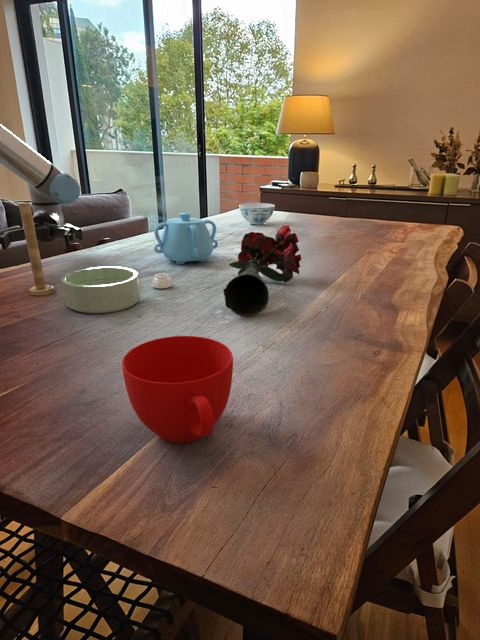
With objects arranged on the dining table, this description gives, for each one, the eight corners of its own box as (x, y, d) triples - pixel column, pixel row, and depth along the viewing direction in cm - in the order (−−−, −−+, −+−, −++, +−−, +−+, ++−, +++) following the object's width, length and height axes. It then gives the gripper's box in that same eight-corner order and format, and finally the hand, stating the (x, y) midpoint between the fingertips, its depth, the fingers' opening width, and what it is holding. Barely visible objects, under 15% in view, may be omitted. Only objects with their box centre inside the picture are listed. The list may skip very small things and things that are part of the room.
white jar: (150, 284, 113) (154, 290, 109) (149, 273, 112) (153, 278, 108) (169, 282, 115) (175, 288, 111) (169, 271, 114) (174, 276, 110)
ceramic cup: (151, 495, 47) (141, 413, 43) (122, 413, 61) (113, 345, 57) (264, 462, 52) (265, 386, 48) (213, 393, 66) (211, 329, 62)
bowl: (55, 300, 102) (50, 274, 99) (120, 287, 111) (117, 263, 109) (84, 320, 91) (79, 291, 89) (153, 303, 101) (150, 277, 98)
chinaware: (276, 221, 201) (277, 203, 198) (271, 227, 188) (271, 208, 184) (243, 220, 203) (243, 202, 200) (235, 226, 190) (235, 206, 187)
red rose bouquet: (253, 350, 98) (260, 291, 128) (322, 299, 92) (313, 250, 122) (202, 296, 92) (223, 248, 123) (273, 239, 86) (276, 203, 117)
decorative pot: (224, 257, 141) (223, 211, 135) (195, 269, 128) (193, 219, 122) (181, 251, 147) (178, 207, 141) (149, 262, 134) (144, 214, 128)
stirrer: (26, 291, 107) (7, 203, 99) (49, 287, 110) (32, 201, 102) (34, 297, 104) (15, 205, 95) (57, 292, 107) (40, 203, 98)
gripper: (95, 238, 129) (94, 255, 111) (-3, 242, 122) (-22, 261, 104) (91, 210, 126) (89, 223, 108) (-9, 213, 119) (-30, 227, 101)
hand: (35, 242), depth 106 cm, fingers open, 13 cm apart
